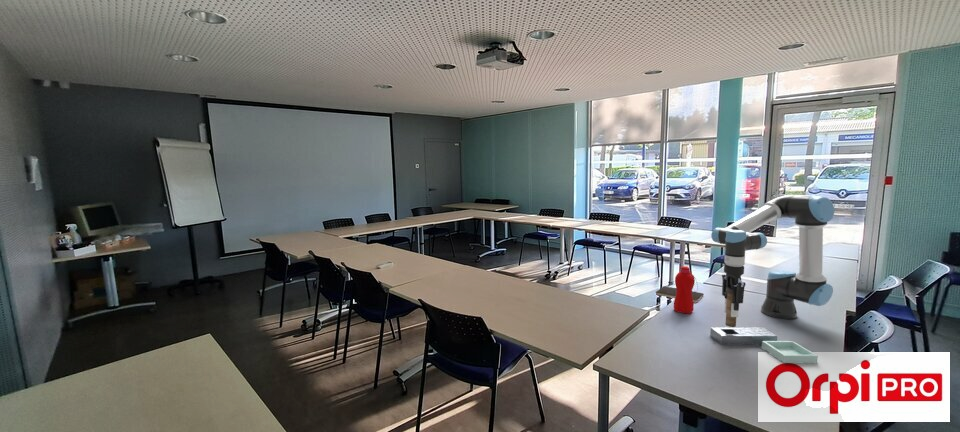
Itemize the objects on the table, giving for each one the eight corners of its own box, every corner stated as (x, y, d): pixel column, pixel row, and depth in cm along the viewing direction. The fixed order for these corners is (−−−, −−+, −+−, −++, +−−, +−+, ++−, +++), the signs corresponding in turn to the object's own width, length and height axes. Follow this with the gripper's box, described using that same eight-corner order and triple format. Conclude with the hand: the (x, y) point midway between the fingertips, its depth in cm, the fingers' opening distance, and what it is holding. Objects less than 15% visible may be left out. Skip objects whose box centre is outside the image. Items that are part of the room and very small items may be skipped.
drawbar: (762, 335, 178) (763, 327, 178) (776, 344, 169) (777, 336, 169) (710, 335, 179) (710, 327, 179) (721, 344, 170) (721, 336, 170)
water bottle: (695, 316, 203) (697, 270, 199) (672, 311, 209) (674, 267, 206) (697, 310, 210) (700, 266, 207) (675, 306, 216) (677, 263, 213)
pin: (732, 322, 176) (735, 286, 174) (740, 327, 171) (742, 290, 169) (721, 322, 177) (723, 286, 174) (728, 327, 171) (730, 290, 169)
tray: (792, 347, 166) (792, 341, 166) (817, 362, 153) (817, 355, 153) (761, 347, 167) (762, 341, 166) (783, 362, 154) (784, 355, 154)
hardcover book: (696, 303, 221) (696, 300, 221) (655, 295, 237) (655, 291, 237) (703, 296, 233) (703, 293, 233) (663, 289, 248) (663, 285, 248)
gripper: (714, 260, 179) (712, 307, 182) (737, 270, 162) (734, 322, 165) (731, 259, 178) (728, 307, 181) (755, 269, 161) (752, 322, 165)
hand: (731, 314), depth 173 cm, fingers closed on pin, 4 cm apart
